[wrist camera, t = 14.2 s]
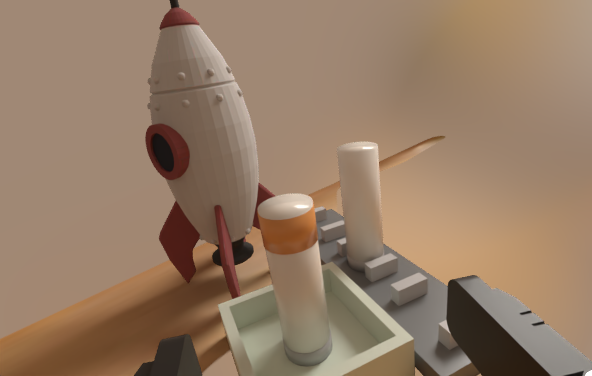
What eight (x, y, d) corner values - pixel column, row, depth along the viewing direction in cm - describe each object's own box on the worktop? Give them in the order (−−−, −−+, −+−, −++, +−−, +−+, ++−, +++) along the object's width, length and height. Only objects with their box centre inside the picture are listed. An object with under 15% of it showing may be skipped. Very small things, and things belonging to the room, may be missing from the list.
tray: (265, 458, 20) (255, 419, 18) (225, 335, 29) (217, 304, 28) (414, 375, 23) (413, 338, 22) (335, 290, 33) (332, 261, 32)
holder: (443, 395, 22) (443, 360, 21) (287, 233, 45) (283, 213, 44) (518, 350, 24) (522, 317, 23) (332, 218, 48) (330, 199, 47)
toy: (171, 286, 37) (73, -21, 27) (241, 241, 45) (185, -12, 35) (238, 321, 31) (141, -71, 20) (307, 261, 38) (262, -46, 28)
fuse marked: (296, 374, 24) (267, 223, 19) (278, 339, 27) (249, 203, 23) (341, 352, 25) (323, 205, 21) (319, 321, 28) (299, 189, 24)
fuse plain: (360, 276, 32) (350, 155, 28) (340, 259, 35) (329, 148, 31) (392, 263, 33) (387, 145, 29) (370, 248, 36) (362, 139, 32)
